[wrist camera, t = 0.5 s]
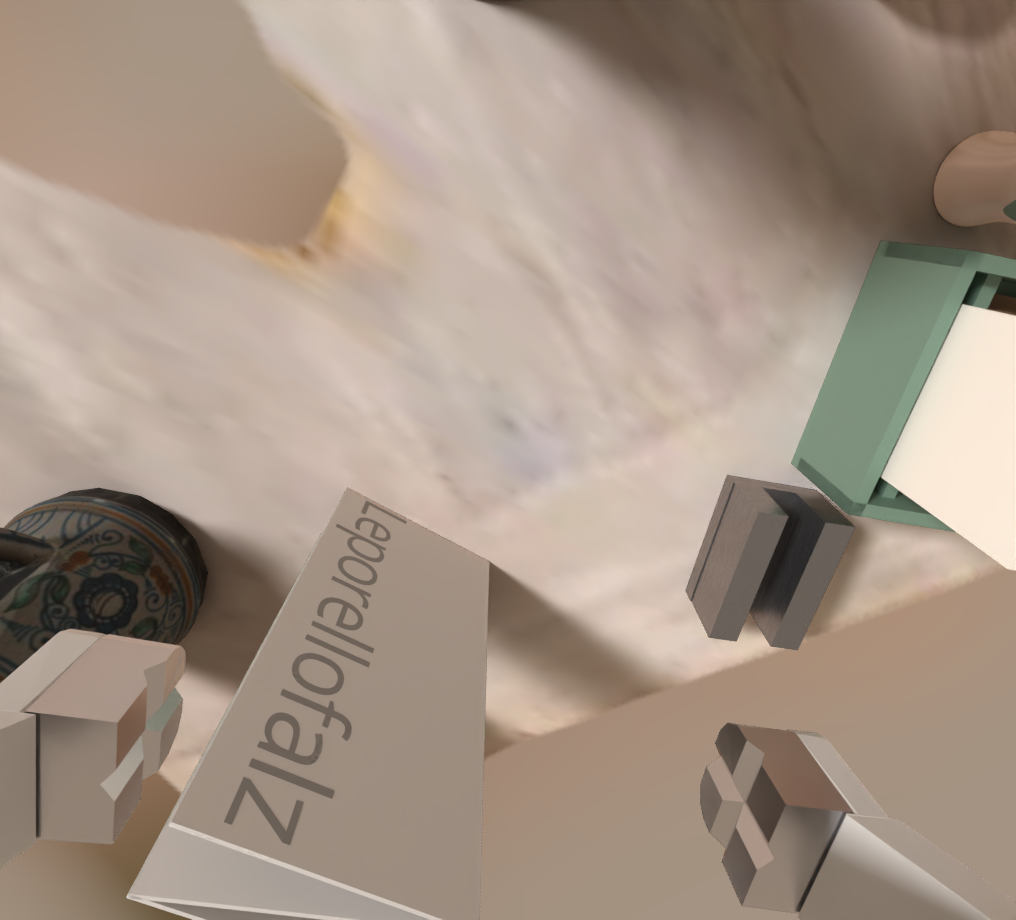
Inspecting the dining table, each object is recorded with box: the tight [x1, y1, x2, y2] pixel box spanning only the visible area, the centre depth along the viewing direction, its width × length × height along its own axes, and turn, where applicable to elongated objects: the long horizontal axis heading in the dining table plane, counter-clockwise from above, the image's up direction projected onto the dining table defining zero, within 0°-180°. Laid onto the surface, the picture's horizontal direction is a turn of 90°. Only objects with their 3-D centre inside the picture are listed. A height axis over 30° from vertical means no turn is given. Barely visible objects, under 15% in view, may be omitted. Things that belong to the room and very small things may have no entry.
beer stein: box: [0, 488, 208, 683], centre depth 42 cm, size 16×19×25 cm
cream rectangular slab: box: [880, 303, 1016, 570], centre depth 38 cm, size 12×2×19 cm, turn 170°
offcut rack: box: [791, 241, 1016, 532], centre depth 44 cm, size 18×14×9 cm
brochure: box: [126, 488, 489, 920], centre depth 40 cm, size 14×6×30 cm, turn 58°
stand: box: [686, 475, 855, 650], centre depth 51 cm, size 12×8×6 cm, turn 170°
